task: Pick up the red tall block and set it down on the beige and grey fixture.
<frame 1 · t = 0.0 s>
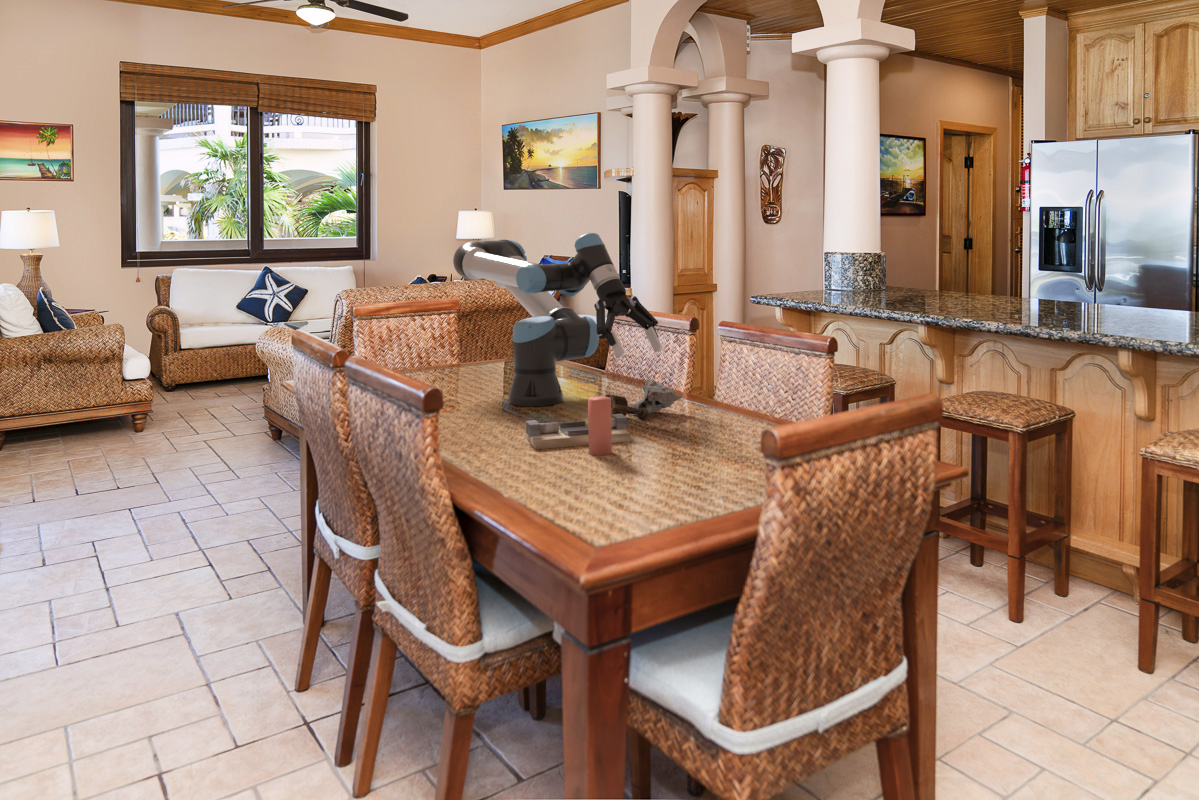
hand: (640, 352, 238), 15 cm above the table, fingers open, 13 cm apart
red tall block: (600, 452, 197), on the table
beige and grey fixture: (577, 439, 209), on the table
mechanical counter: (624, 421, 227), on the table, touching mineral specimen
mineral specimen: (655, 411, 236), on the table, touching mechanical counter
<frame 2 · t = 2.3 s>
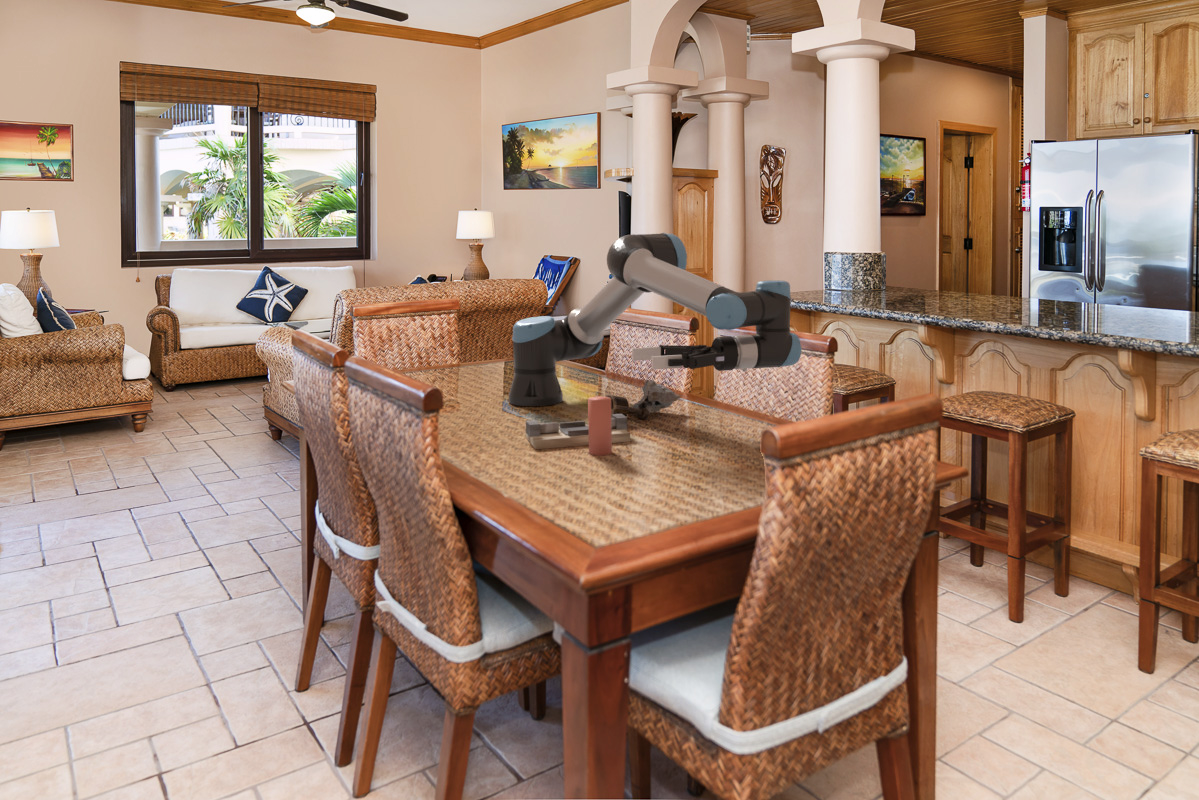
hand: (641, 358, 195), 20 cm above the table, fingers open, 13 cm apart
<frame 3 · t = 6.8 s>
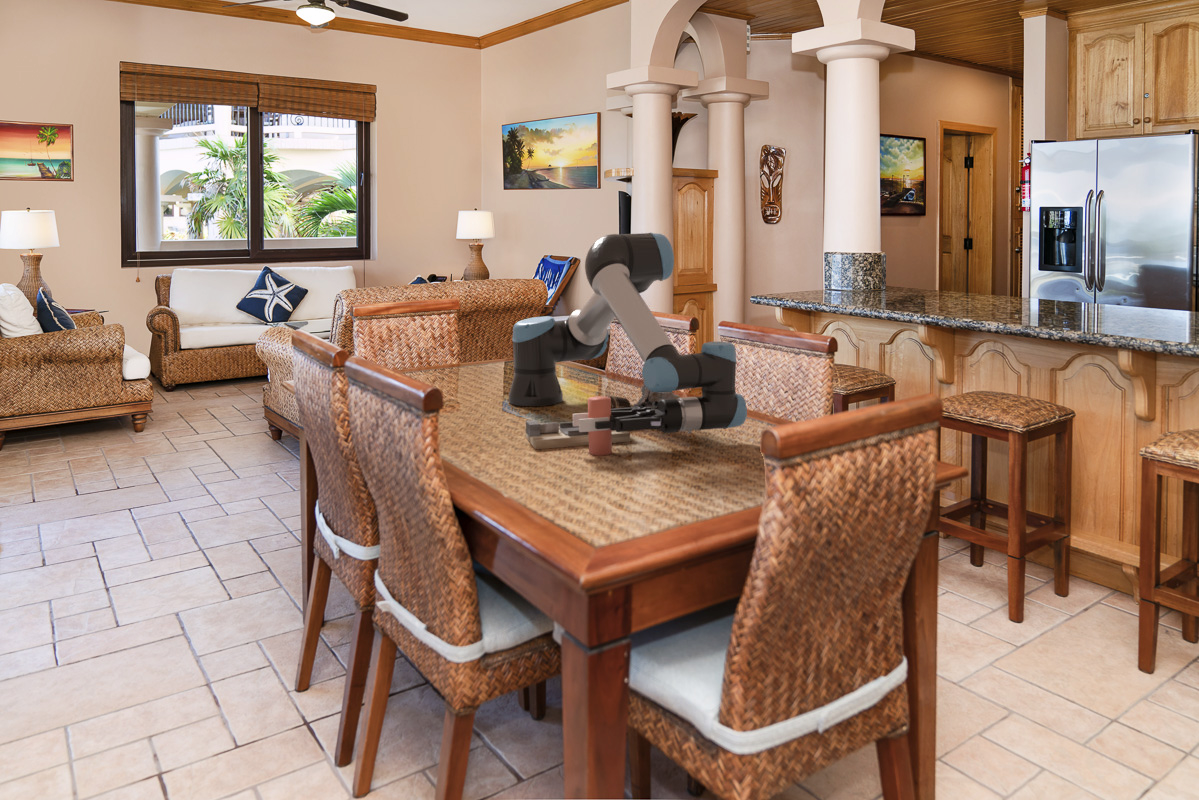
hand: (576, 422, 194), 7 cm above the table, fingers closed on red tall block, 5 cm apart
red tall block: (600, 452, 197), on the table, touching gripper
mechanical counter: (626, 423, 225), on the table, touching mineral specimen
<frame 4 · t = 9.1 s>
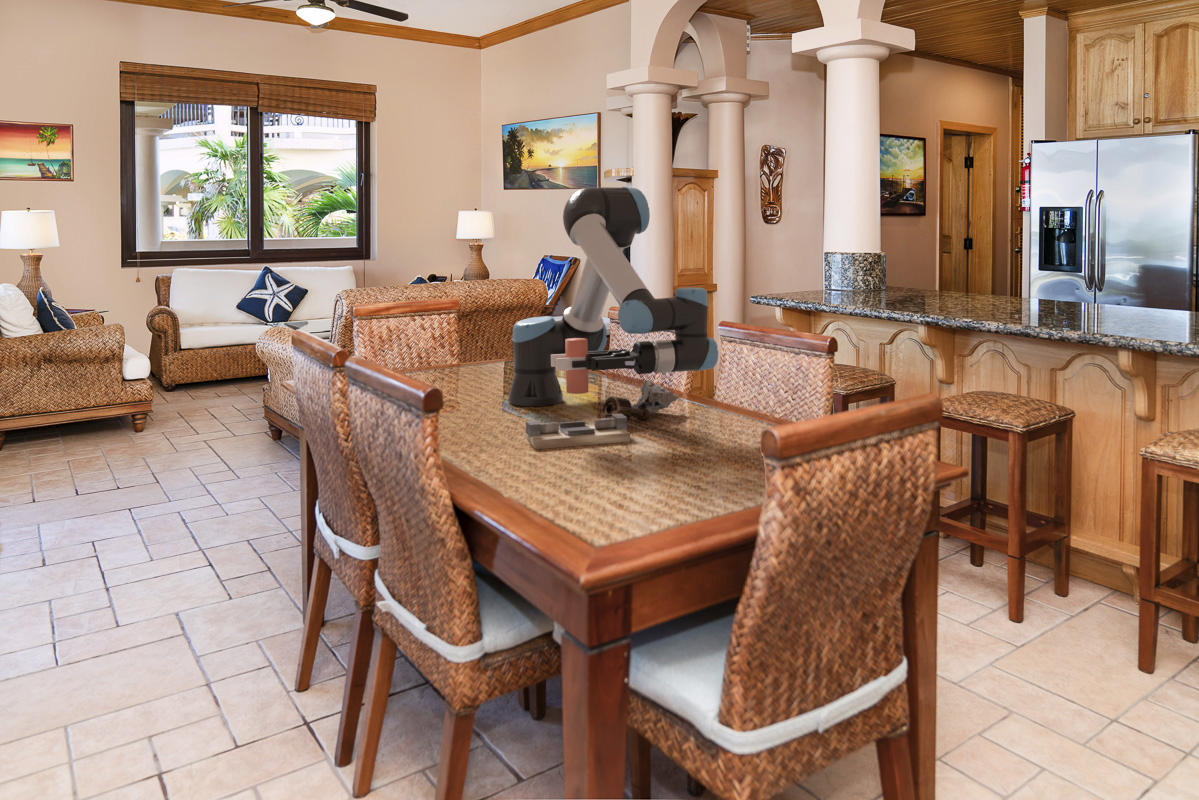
hand: (554, 362, 203), 18 cm above the table, fingers closed on red tall block, 5 cm apart
red tall block: (577, 391, 206), point 11 cm above the table, touching gripper
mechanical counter: (627, 423, 225), on the table, touching mineral specimen
when the fingers open (11 cm above the table, at t = 11.4 s): red tall block drops 2 cm, resting on beige and grey fixture.
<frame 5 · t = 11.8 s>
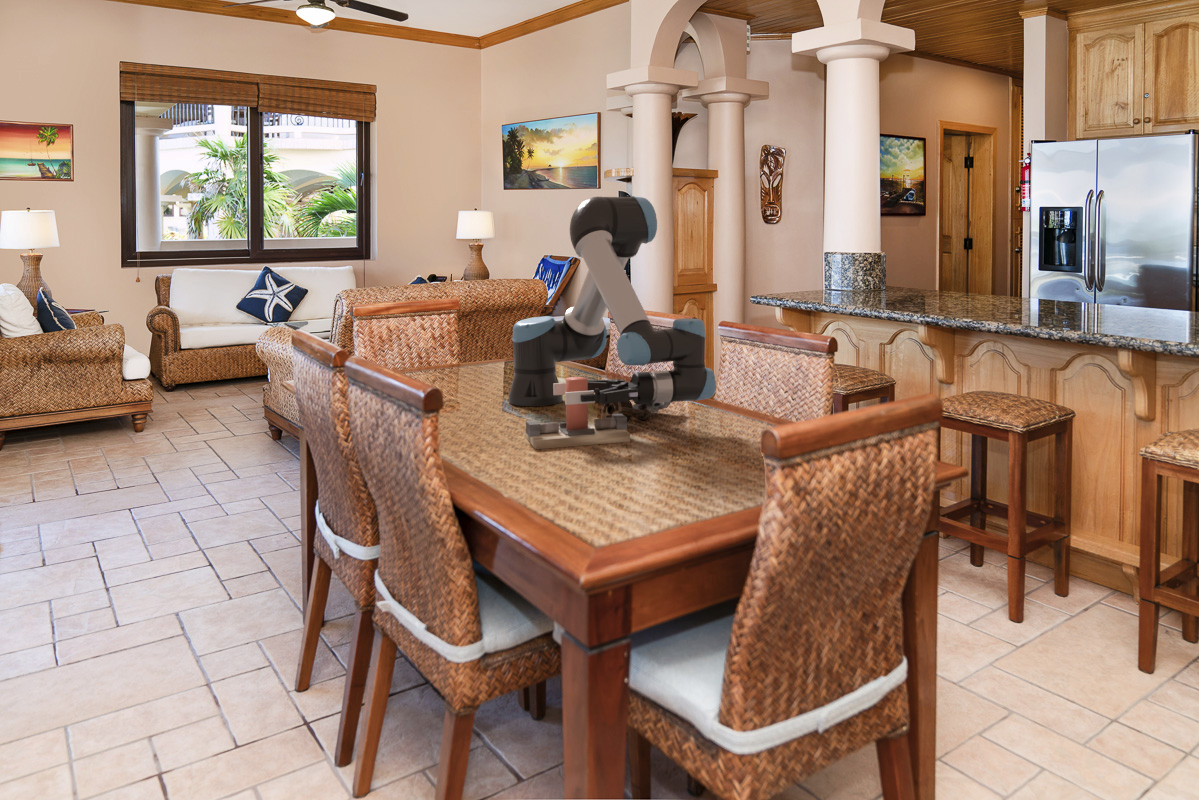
hand: (559, 393, 206), 11 cm above the table, fingers open, 11 cm apart
red tall block: (577, 430, 208), point 2 cm above the table, touching beige and grey fixture
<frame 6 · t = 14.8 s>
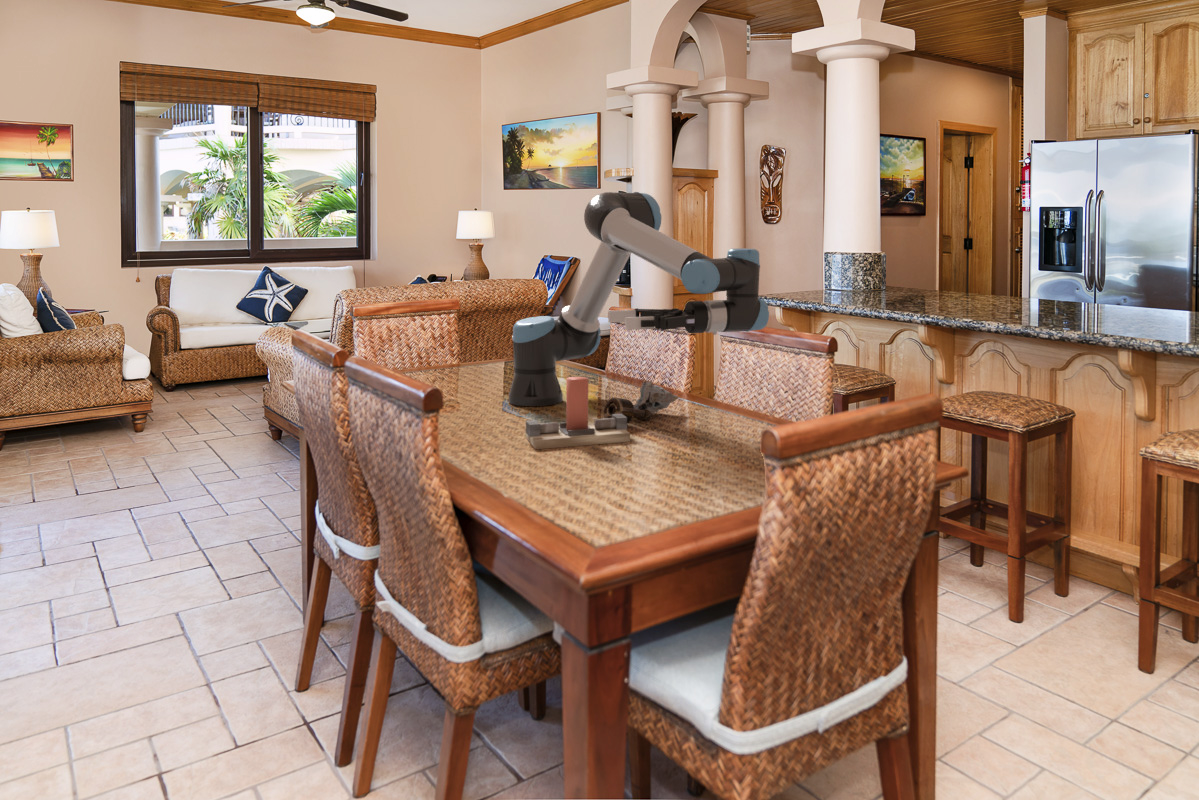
hand: (616, 320, 206), 27 cm above the table, fingers open, 13 cm apart
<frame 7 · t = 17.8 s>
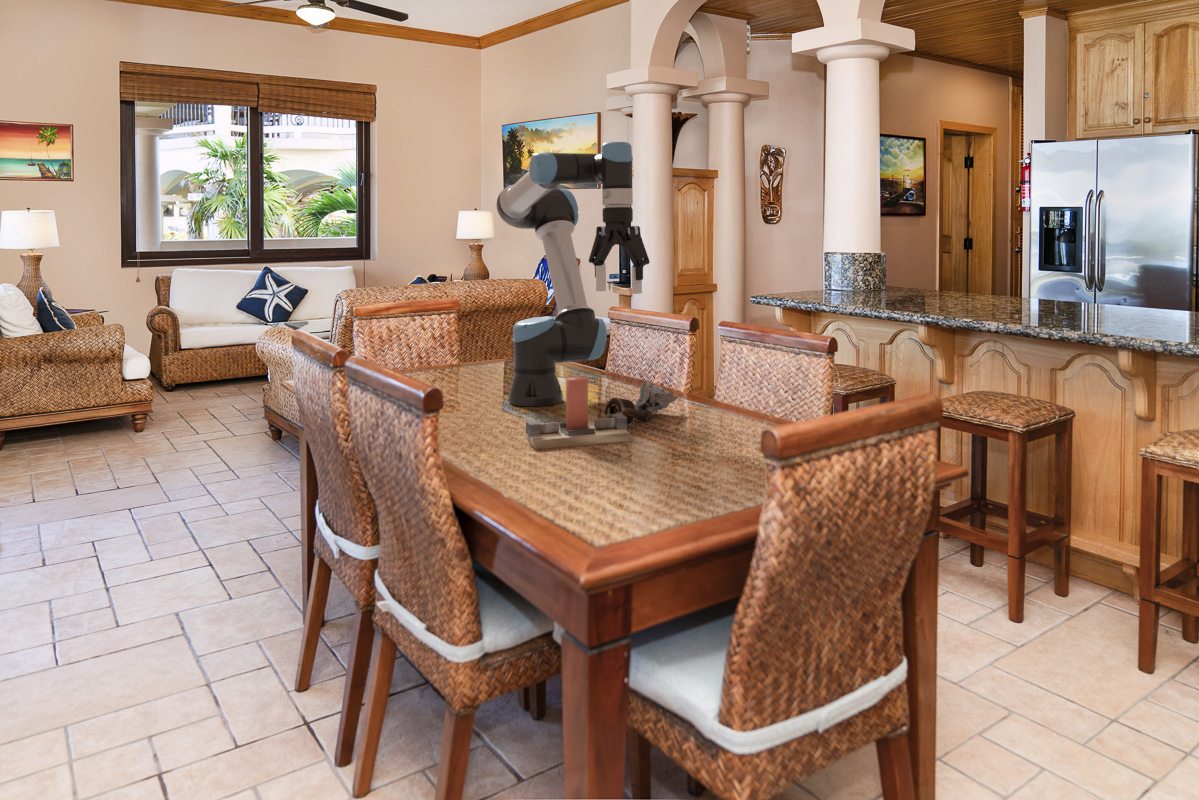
hand: (618, 292, 228), 32 cm above the table, fingers open, 13 cm apart
at the end: red tall block 0.1 cm off-centre on the beige and grey fixture, point 2.3 cm above the beige and grey fixture's base; red tall block tilted 2°; the gripper is holding nothing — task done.
